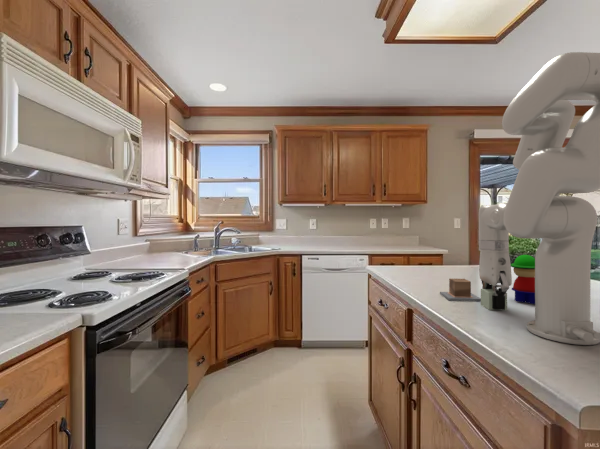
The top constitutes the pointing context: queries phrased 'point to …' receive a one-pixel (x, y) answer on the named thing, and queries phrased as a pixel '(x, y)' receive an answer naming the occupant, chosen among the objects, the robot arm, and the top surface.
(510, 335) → the top surface
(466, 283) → the walnut block
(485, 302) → the sage block
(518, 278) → the toy
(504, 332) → the top surface
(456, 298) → the slate board
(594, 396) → the top surface
